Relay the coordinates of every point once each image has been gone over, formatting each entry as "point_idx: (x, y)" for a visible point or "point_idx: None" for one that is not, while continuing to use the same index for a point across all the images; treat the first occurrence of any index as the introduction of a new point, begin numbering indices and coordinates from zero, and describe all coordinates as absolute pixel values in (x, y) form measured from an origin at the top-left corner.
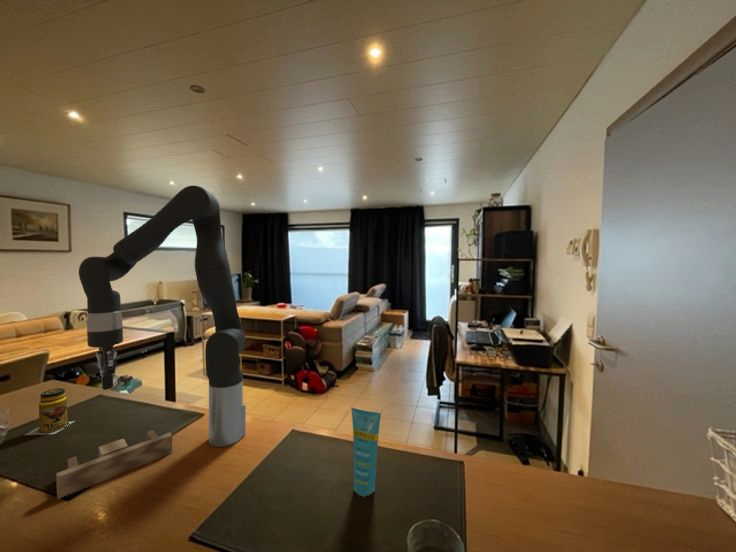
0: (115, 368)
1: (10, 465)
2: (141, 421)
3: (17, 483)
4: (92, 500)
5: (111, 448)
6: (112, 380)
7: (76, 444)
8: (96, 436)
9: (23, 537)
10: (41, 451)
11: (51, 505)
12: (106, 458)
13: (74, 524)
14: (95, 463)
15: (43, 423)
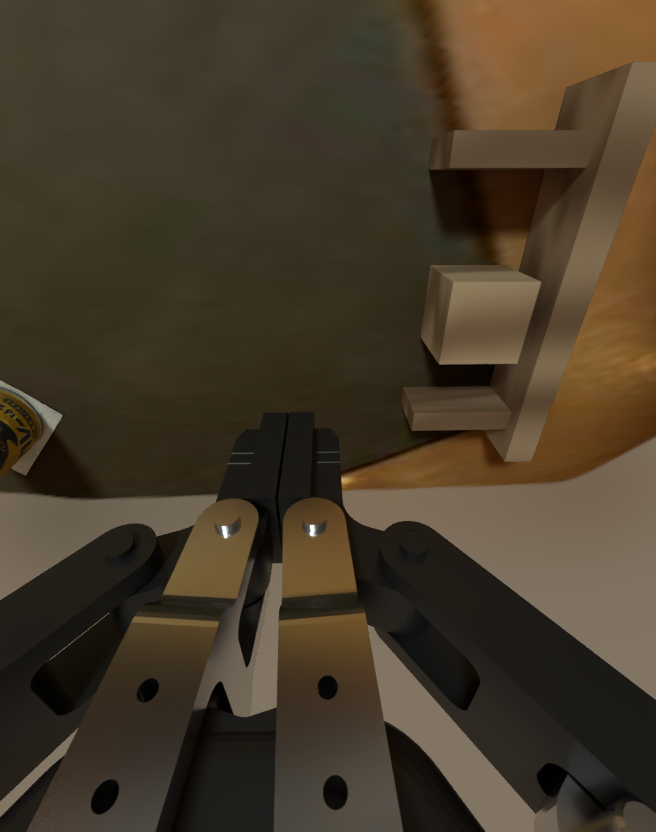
0: (551, 621)
1: None
2: (121, 115)
3: None
4: (591, 370)
5: (498, 333)
6: (312, 455)
7: (202, 373)
8: (176, 316)
9: (575, 466)
10: (186, 443)
11: None
12: (563, 358)
13: (640, 404)
14: (558, 386)
15: (15, 462)
